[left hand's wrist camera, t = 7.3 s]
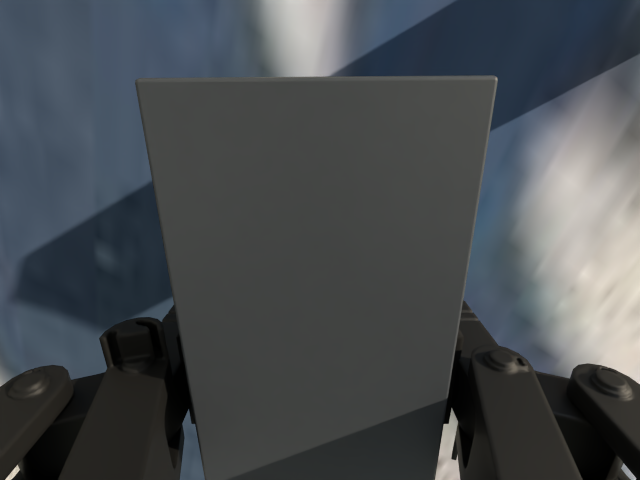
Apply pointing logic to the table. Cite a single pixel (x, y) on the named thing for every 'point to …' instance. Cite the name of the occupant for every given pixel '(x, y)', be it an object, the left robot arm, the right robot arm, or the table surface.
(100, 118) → the table surface
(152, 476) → the left robot arm
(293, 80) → the beam
